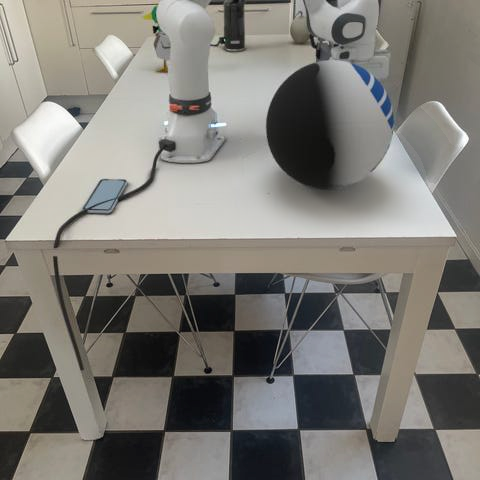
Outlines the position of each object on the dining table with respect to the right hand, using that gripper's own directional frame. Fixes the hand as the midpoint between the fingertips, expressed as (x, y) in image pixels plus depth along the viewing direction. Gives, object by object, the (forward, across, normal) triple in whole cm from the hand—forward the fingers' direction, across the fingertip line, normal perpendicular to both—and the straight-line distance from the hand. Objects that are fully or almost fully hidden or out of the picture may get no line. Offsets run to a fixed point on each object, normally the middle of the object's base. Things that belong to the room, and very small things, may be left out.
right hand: (324, 58), depth 205 cm
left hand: (0, 0, +42) cm, 42 cm away
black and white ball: (+5, +22, +91) cm, 94 cm away
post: (+3, 0, +21) cm, 21 cm away
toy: (+5, +61, -11) cm, 62 cm away
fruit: (+5, 0, -43) cm, 44 cm away
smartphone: (+5, +78, +90) cm, 119 cm away
